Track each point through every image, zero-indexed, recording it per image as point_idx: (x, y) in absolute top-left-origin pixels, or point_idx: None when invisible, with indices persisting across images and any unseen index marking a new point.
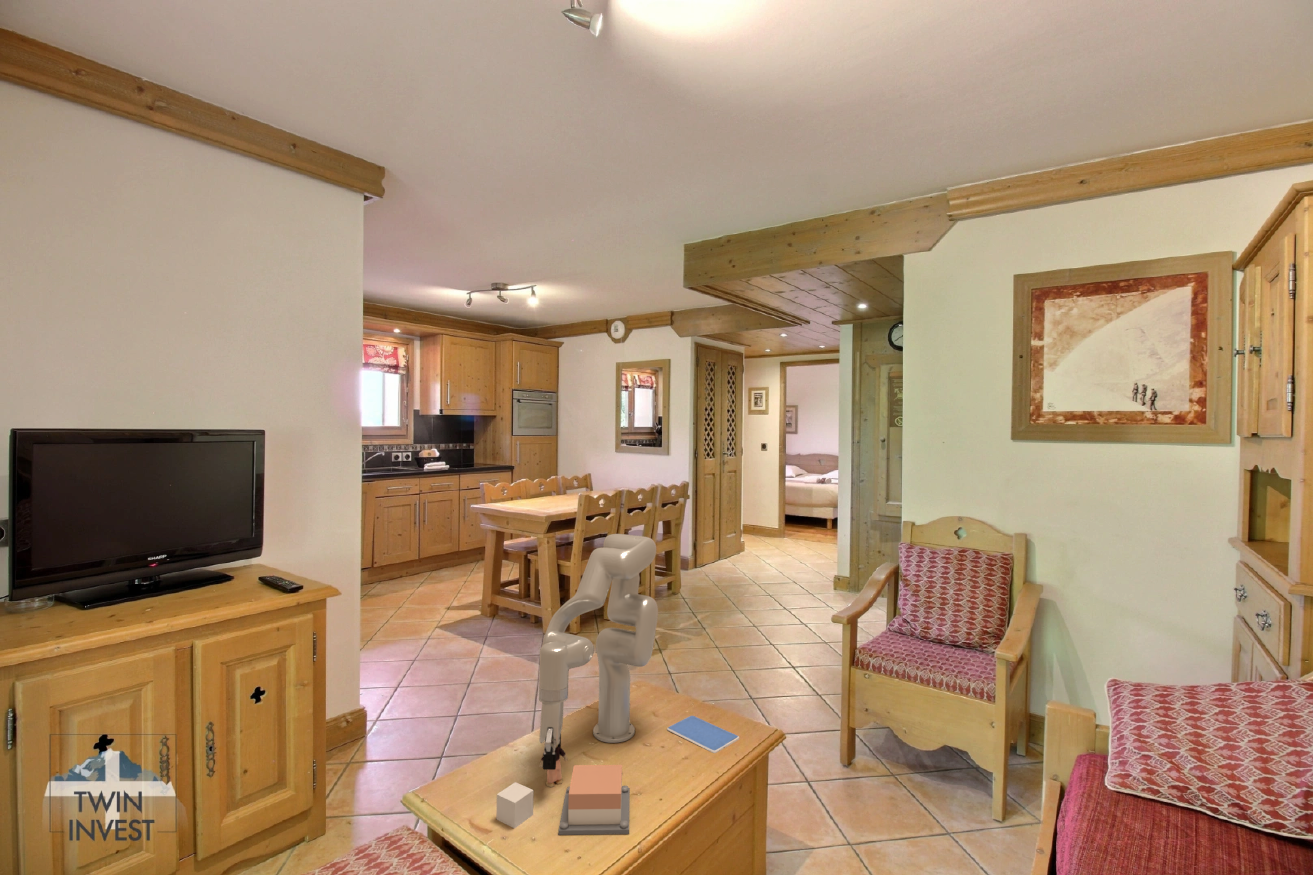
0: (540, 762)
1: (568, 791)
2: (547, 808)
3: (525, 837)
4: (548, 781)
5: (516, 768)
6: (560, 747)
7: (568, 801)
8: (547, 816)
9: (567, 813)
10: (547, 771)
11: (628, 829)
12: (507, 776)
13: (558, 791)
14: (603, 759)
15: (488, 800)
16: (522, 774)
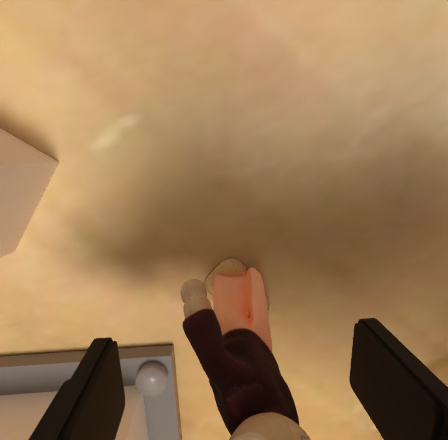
0: (193, 297)
1: (139, 372)
2: (63, 296)
3: None
4: (214, 280)
5: (356, 98)
6: (358, 393)
7: None
8: (13, 306)
9: (9, 385)
10: (216, 298)
11: None
12: (289, 66)
13: (178, 315)
14: None
15: (83, 14)
16: (303, 140)
